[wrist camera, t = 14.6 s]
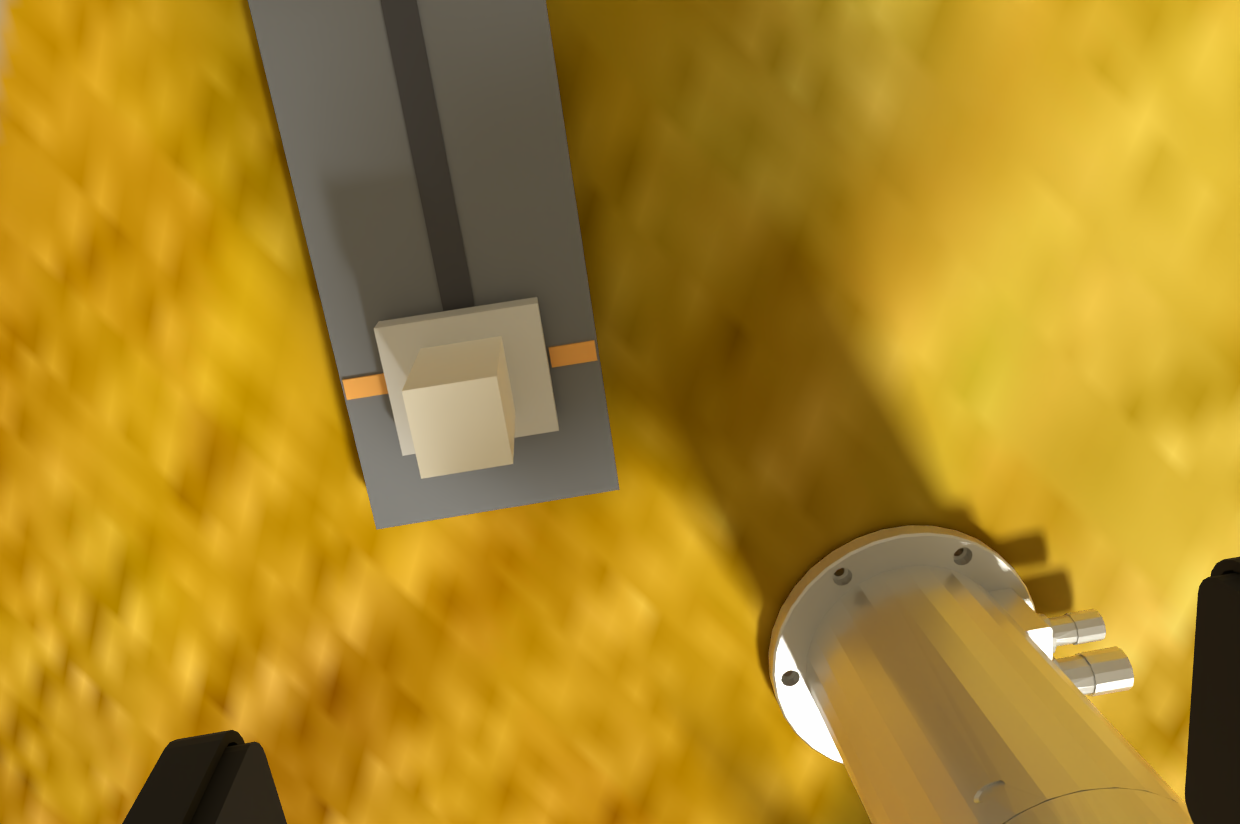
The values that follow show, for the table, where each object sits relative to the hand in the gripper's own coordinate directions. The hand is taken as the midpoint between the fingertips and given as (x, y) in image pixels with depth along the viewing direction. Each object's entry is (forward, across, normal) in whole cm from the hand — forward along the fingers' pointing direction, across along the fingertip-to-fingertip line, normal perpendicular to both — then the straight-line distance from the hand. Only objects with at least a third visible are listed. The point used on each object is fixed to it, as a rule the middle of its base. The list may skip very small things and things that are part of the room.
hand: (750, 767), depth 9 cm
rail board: (+30, +5, -4) cm, 31 cm away
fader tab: (+28, +5, +3) cm, 28 cm away
